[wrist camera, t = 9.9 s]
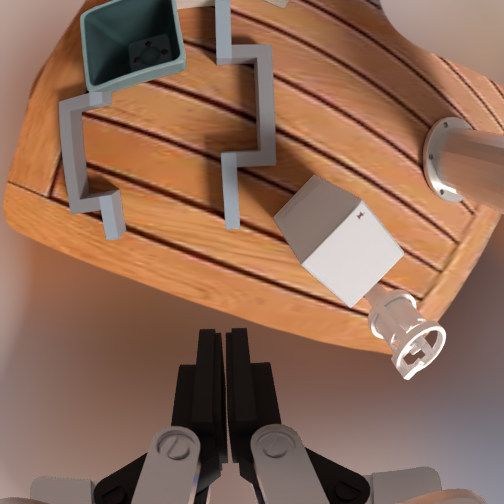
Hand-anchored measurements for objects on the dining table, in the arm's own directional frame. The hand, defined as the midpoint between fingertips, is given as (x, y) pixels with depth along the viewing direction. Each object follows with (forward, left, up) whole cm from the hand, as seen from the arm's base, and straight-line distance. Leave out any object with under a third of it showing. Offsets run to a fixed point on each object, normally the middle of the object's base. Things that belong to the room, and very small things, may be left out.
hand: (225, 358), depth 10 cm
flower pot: (+7, -18, -25) cm, 31 cm away
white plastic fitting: (-21, +14, -25) cm, 36 cm away
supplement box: (-11, +2, -25) cm, 27 cm away
